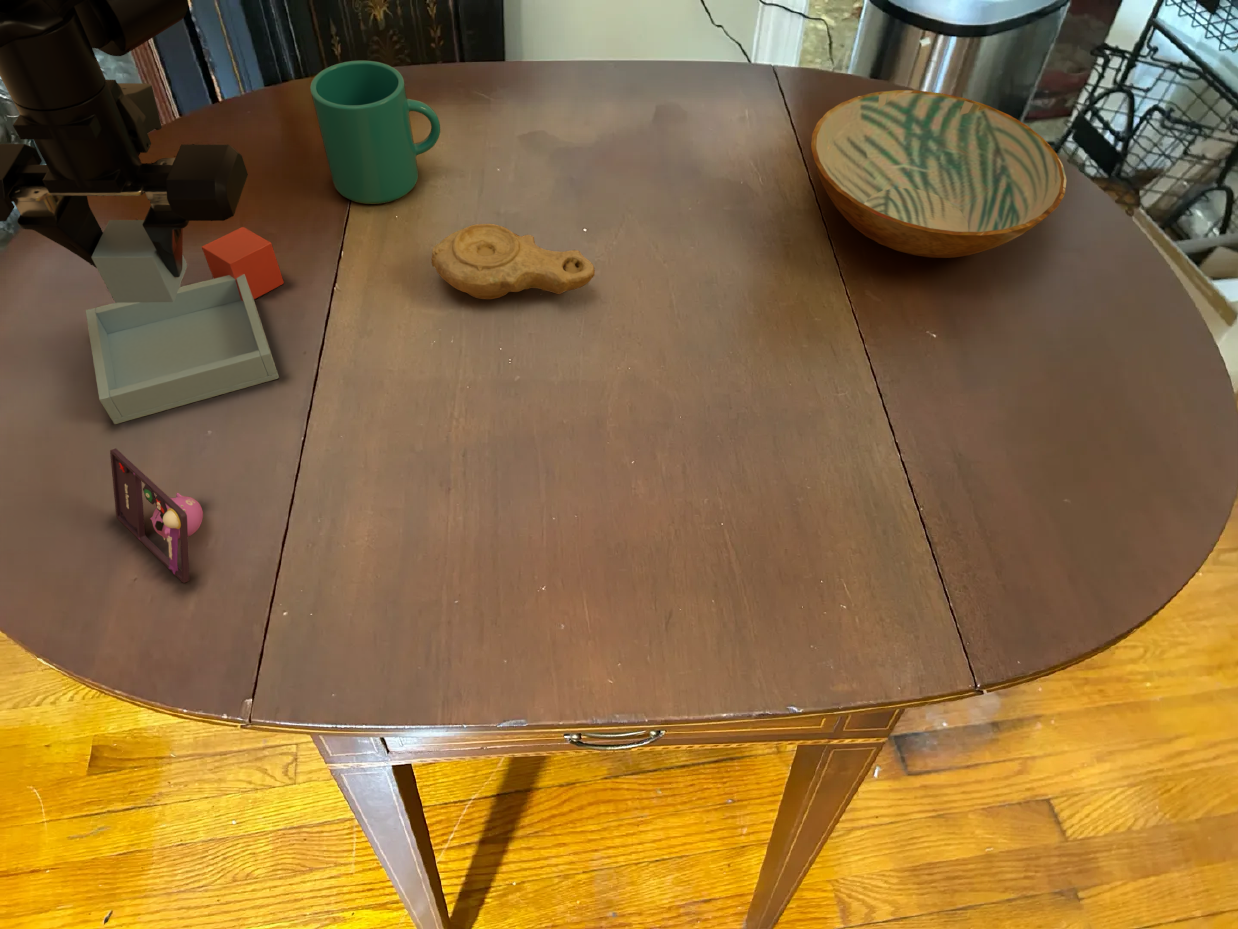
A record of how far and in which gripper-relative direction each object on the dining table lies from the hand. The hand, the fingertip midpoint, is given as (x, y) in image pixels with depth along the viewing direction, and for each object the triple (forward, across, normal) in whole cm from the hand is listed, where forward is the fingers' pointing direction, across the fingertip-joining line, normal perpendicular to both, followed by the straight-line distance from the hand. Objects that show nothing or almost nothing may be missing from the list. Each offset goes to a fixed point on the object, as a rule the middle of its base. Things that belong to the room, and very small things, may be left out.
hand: (147, 273), depth 72 cm
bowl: (+11, -70, -21) cm, 74 cm away
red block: (+11, -3, -11) cm, 16 cm away
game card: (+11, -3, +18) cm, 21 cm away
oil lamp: (+11, -28, -11) cm, 32 cm away
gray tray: (+11, +1, -1) cm, 11 cm away
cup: (+11, -14, -28) cm, 33 cm away
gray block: (+1, 0, 0) cm, 1 cm away
